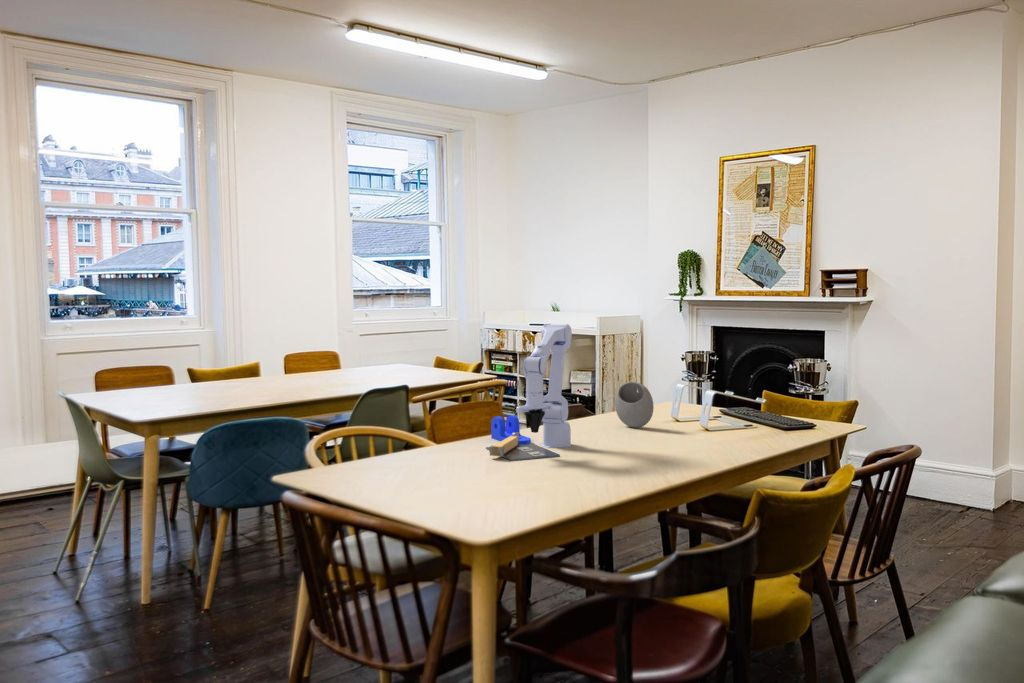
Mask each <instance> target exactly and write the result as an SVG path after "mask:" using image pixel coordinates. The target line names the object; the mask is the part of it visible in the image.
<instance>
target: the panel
mask: <svg viewBox="0 0 1024 683" xmlns="http://www.w3.org/2000/svg"><path fill="white" fill-rule="evenodd" d="M512 436H518V445H517V446H515V447H514V448H512V449H510V450H509V451H507V452H506V453H504V455H503V456H500V457H501V458H504V459H506V460H508V461H509V462H515V461H516V462H518V461H525V460H527V461H529V460H537V459H540V460H541V459H548V458H550V459H551V458H560V457H561V454H560V453H557V452H554V451H551V450H549V449H548V448H546V447H543V446H541V445H539V444H538V445H537V444H535V443H529V444H519V432H513V433H512ZM485 449H487V450H486V451H488V450H489V451H488V452H490V446H486V447H485Z"/></svg>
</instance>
